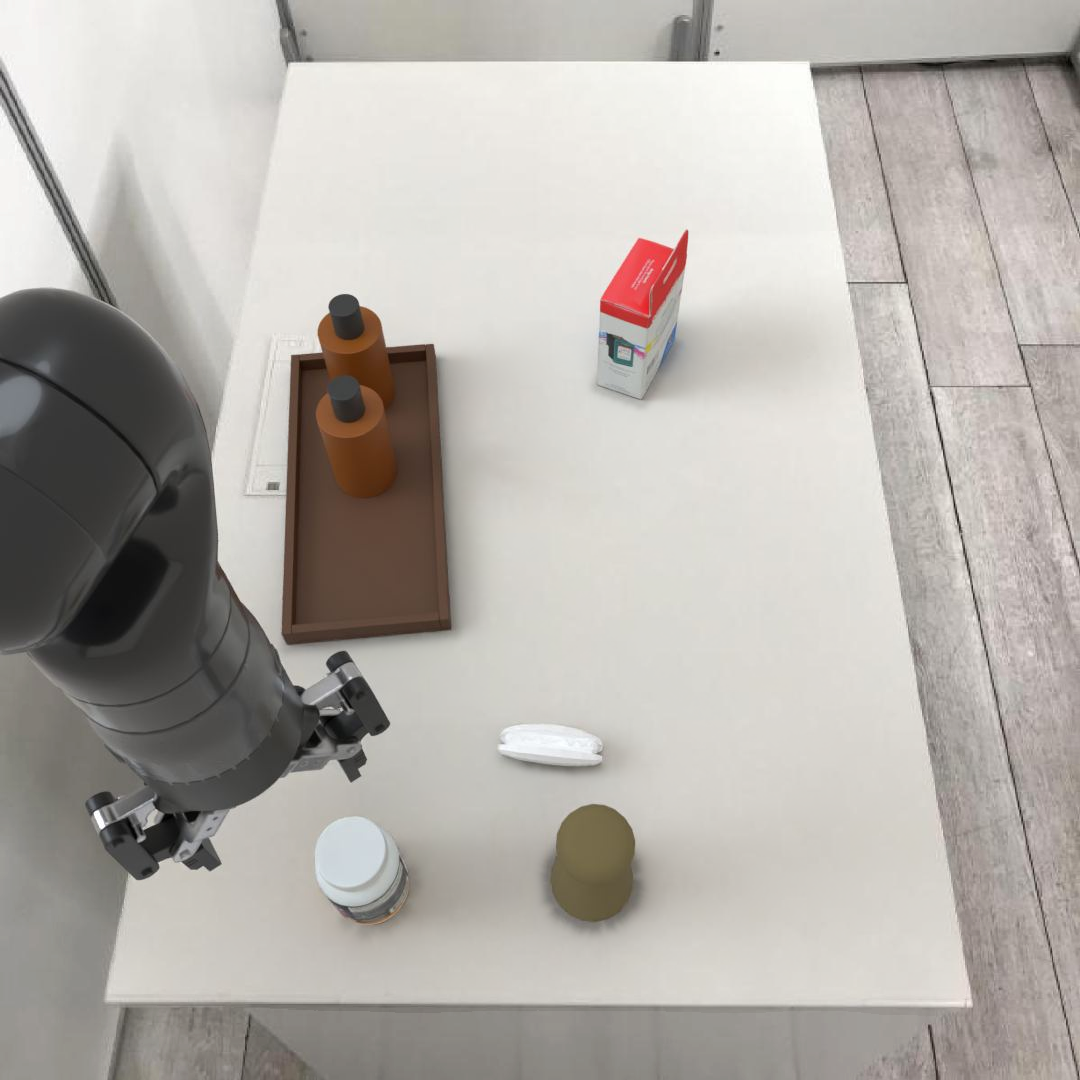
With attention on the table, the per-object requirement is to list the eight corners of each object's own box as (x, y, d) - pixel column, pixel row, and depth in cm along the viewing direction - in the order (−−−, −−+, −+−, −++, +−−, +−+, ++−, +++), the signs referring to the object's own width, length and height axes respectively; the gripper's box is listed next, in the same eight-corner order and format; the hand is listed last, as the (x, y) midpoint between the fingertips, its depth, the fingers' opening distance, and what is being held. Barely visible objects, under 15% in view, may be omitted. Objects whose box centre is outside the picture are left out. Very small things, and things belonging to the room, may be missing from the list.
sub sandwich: (600, 775, 82) (601, 763, 79) (497, 764, 82) (495, 751, 80) (604, 737, 83) (605, 724, 81) (502, 726, 84) (501, 712, 82)
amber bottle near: (335, 500, 94) (307, 417, 84) (335, 449, 97) (309, 363, 87) (398, 495, 95) (378, 412, 84) (396, 444, 98) (377, 358, 87)
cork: (628, 834, 79) (638, 788, 70) (637, 918, 76) (648, 882, 67) (547, 840, 79) (546, 794, 70) (553, 924, 76) (552, 888, 67)
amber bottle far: (335, 420, 99) (309, 332, 89) (335, 373, 102) (310, 283, 92) (395, 415, 99) (377, 326, 89) (394, 368, 102) (376, 278, 92)
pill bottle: (321, 869, 78) (292, 831, 70) (393, 833, 80) (373, 792, 71) (350, 941, 76) (324, 911, 67) (424, 903, 77) (407, 869, 69)
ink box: (630, 324, 105) (640, 208, 93) (676, 341, 104) (693, 225, 92) (594, 385, 101) (599, 273, 89) (641, 403, 100) (654, 292, 88)
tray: (286, 644, 88) (281, 634, 86) (295, 368, 103) (291, 354, 101) (451, 629, 88) (449, 619, 87) (435, 357, 104) (433, 343, 102)
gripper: (302, 546, 48) (359, 688, 62) (-3, 714, 44) (131, 825, 58) (384, 672, 45) (425, 792, 59) (63, 865, 41) (189, 945, 55)
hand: (279, 808), depth 59 cm, fingers open, 8 cm apart
